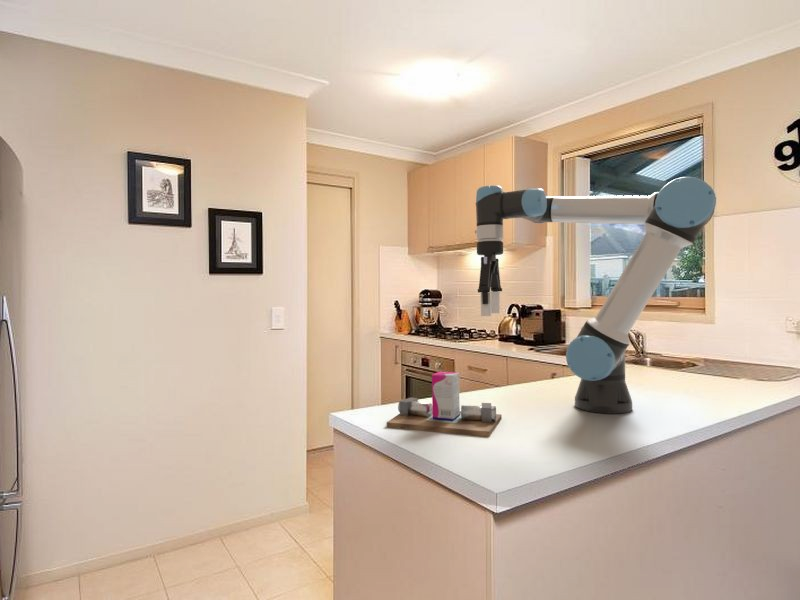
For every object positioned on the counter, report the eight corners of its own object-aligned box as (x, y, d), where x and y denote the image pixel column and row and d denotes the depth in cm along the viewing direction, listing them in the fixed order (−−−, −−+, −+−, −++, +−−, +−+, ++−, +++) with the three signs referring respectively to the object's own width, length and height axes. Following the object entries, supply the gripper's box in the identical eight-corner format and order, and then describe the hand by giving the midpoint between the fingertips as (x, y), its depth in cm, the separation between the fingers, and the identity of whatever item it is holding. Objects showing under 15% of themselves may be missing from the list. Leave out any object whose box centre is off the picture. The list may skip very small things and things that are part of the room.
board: (501, 419, 130) (501, 413, 130) (489, 436, 115) (489, 430, 115) (408, 411, 140) (408, 406, 140) (386, 427, 125) (386, 421, 125)
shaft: (434, 414, 131) (434, 400, 131) (424, 419, 127) (424, 404, 127) (407, 410, 136) (406, 396, 136) (396, 415, 132) (396, 400, 132)
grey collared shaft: (495, 417, 127) (495, 403, 127) (496, 423, 122) (496, 408, 122) (462, 416, 129) (461, 402, 128) (461, 422, 123) (460, 407, 123)
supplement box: (460, 415, 129) (459, 371, 129) (453, 421, 124) (453, 375, 123) (439, 413, 131) (438, 370, 131) (431, 419, 126) (431, 374, 126)
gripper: (485, 244, 156) (486, 312, 156) (466, 238, 132) (468, 317, 133) (509, 243, 153) (510, 312, 154) (494, 236, 130) (496, 317, 130)
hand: (490, 314), depth 143 cm, fingers open, 13 cm apart
